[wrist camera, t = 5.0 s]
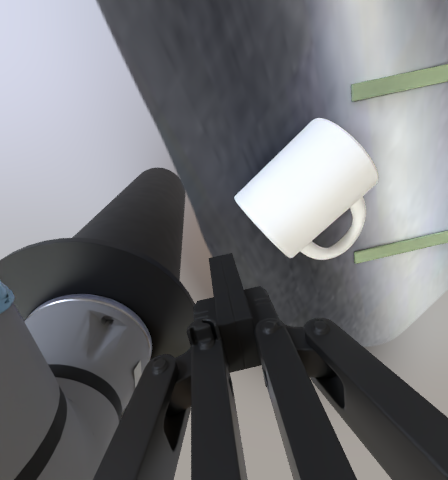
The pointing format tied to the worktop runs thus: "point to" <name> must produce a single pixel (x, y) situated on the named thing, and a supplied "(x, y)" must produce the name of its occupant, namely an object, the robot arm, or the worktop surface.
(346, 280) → the worktop surface
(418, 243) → the strips
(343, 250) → the mug
